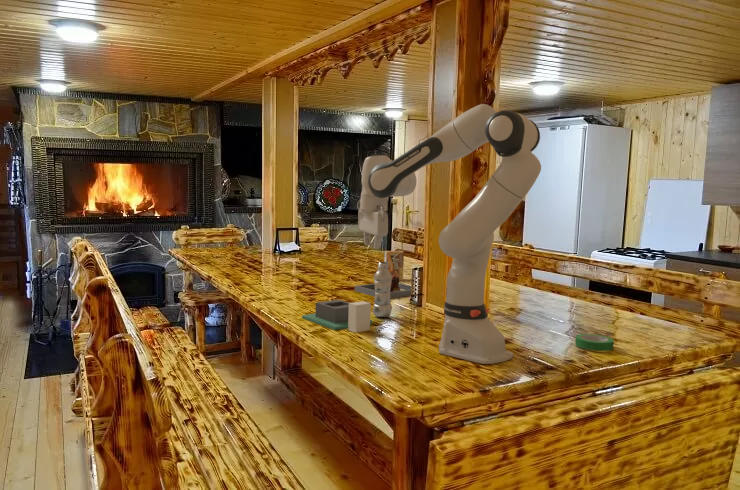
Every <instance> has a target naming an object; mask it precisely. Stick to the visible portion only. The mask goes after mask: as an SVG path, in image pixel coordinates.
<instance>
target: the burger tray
mask: <svg viewBox="0 0 740 490" xmlns="http://www.w3.org/2000/svg"><path fill="white" fill-rule="evenodd" d="M411 286H412V285H409V284H404V283H400V282H399V284H398V287H400V291H395V292H390V300H392V299H397V298H398V299H399V298H404V297H410V295H411ZM354 291H355V292H358V293H361V294H364V295H368V296H371V297H374V298H375V284H374V283H370V284H360V285H354Z"/></svg>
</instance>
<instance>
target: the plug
mask: <svg viewBox="0 0 740 490" xmlns="http://www.w3.org/2000/svg"><path fill="white" fill-rule="evenodd" d="M371 305H372V304H371V303H370V302H368V301H365V300H362V301H356V302H349V314H348V328H347V330H348V331H350V332H353V333H360V332H366V331H367V332H368V331H370V329H371V324H370V320H371Z"/></svg>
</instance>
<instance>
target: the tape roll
mask: <svg viewBox="0 0 740 490" xmlns="http://www.w3.org/2000/svg"><path fill="white" fill-rule="evenodd" d="M614 342H615V340H614V339H613V338H612V337H609V336H606V335H601V334H595V333H593V334H592V333H580V334H577V335H576V336H575V344H576V345H577V346H576V345H575V346H576V347H578V348H580V347H581V349H583V350H584V349H585V350H588V351H595V352H596V351H597V352H607V351H612V350H613V349H614Z"/></svg>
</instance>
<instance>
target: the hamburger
mask: <svg viewBox="0 0 740 490" xmlns="http://www.w3.org/2000/svg"><path fill="white" fill-rule="evenodd" d="M374 275H375V273H374V274H373V278H374ZM400 281H401V280H399V277H396V276H392V280H391V287H390V292H395V291H401V289H400V287H398V284H399V283H400Z"/></svg>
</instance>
